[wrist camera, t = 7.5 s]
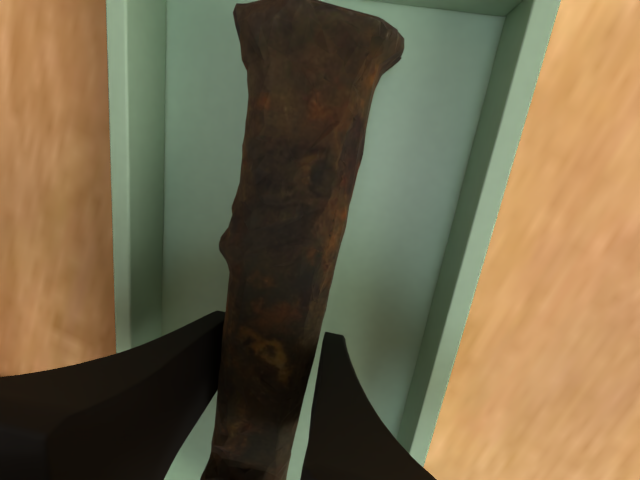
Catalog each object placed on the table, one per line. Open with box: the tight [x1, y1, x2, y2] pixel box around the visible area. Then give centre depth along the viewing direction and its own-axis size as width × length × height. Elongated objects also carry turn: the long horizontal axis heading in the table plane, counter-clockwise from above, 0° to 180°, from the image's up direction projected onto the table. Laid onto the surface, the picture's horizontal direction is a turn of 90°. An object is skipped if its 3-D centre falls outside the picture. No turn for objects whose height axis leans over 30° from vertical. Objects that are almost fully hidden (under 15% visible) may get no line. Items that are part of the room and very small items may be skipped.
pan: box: [106, 0, 561, 480], centre depth 13 cm, size 11×23×2 cm, turn 172°
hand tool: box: [200, 0, 404, 480], centre depth 11 cm, size 19×4×5 cm, turn 167°
